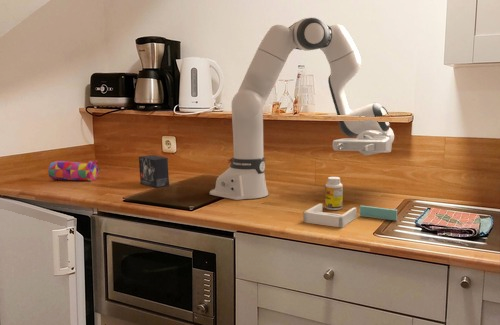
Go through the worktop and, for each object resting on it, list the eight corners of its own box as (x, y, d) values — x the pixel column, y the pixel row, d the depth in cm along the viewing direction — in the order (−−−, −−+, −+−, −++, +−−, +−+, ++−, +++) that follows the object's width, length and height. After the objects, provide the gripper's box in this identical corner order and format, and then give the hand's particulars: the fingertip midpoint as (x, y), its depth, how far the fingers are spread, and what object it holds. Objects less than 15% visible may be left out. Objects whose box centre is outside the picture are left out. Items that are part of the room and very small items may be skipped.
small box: (139, 183, 198) (138, 156, 196) (153, 181, 202) (152, 154, 200) (155, 188, 188) (153, 159, 186) (169, 185, 192) (168, 157, 191)
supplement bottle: (322, 206, 153) (322, 176, 152) (338, 205, 154) (338, 175, 153) (328, 211, 148) (329, 179, 146) (345, 209, 149) (345, 178, 147)
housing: (303, 222, 136) (303, 212, 136) (319, 212, 146) (319, 203, 146) (342, 227, 130) (342, 217, 130) (356, 217, 140) (356, 207, 140)
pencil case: (102, 178, 213) (101, 159, 211) (92, 182, 203) (91, 162, 202) (58, 178, 216) (56, 159, 214) (46, 182, 207) (45, 162, 205)
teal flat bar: (359, 215, 141) (359, 206, 141) (360, 215, 142) (360, 205, 141) (396, 220, 135) (396, 210, 135) (397, 219, 136) (397, 209, 136)
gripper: (342, 133, 174) (323, 138, 163) (395, 134, 161) (378, 139, 150) (343, 150, 175) (324, 156, 164) (395, 152, 162) (379, 158, 151)
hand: (351, 148), depth 157 cm, fingers open, 8 cm apart
